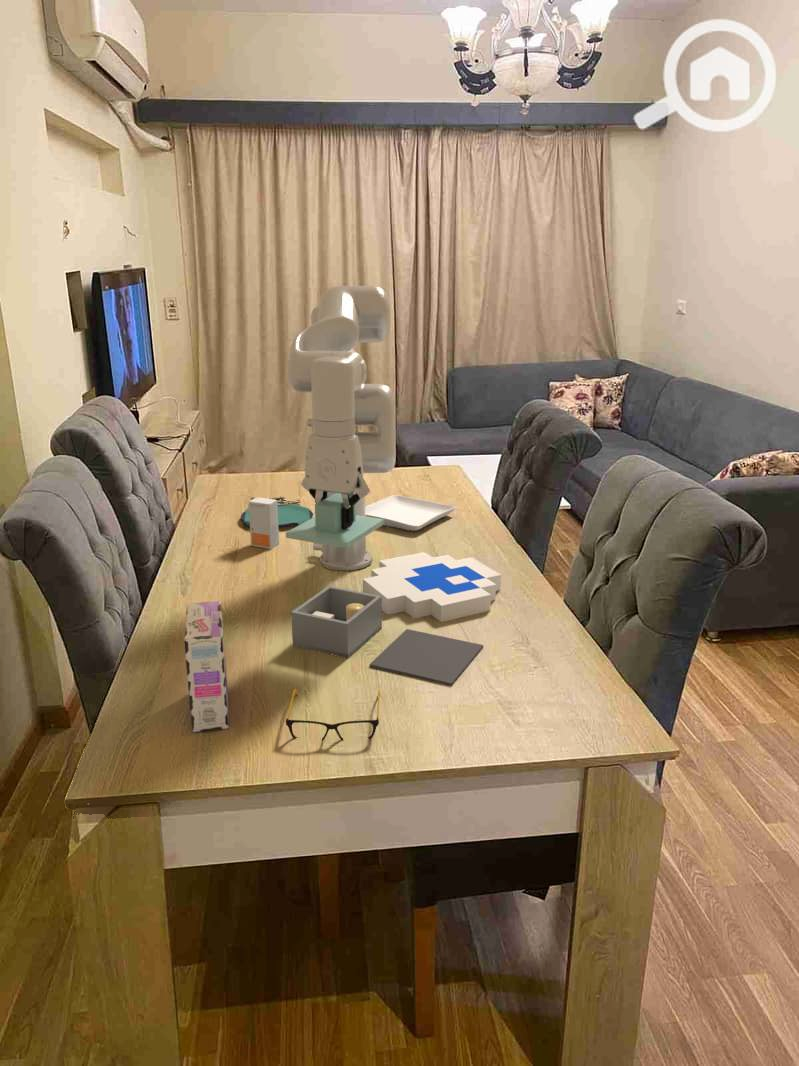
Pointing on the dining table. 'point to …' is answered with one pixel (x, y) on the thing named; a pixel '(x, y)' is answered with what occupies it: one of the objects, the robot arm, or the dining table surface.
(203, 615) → the candy box
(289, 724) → the eyeglasses
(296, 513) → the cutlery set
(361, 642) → the storage box
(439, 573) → the pixel art tile
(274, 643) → the dining table surface
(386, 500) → the salad plate
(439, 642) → the mat
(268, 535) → the skincare box
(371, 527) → the lid
